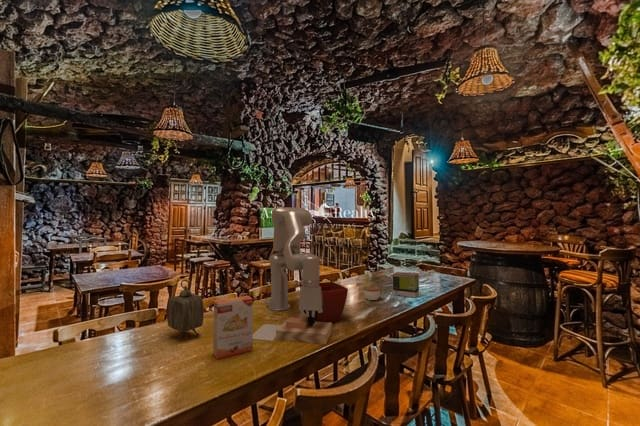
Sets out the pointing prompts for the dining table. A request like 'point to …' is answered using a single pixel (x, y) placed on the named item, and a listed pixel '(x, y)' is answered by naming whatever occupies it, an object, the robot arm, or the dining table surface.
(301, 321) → the block
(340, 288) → the plant pot
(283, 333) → the board
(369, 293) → the lidded jar
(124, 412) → the dining table surface
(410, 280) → the tea box
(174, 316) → the tabletop clock
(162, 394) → the dining table surface
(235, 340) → the cracker box
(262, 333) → the mat
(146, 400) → the dining table surface
